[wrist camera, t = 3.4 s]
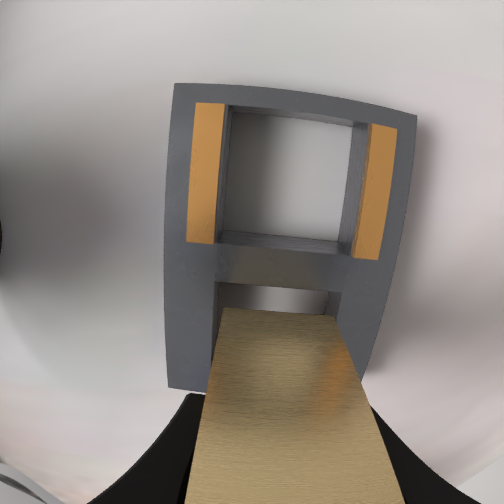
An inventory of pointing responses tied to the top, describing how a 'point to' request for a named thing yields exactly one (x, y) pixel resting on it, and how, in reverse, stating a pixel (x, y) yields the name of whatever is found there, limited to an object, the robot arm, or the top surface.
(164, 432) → the robot arm
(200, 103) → the socket
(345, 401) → the brass peg
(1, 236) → the coffee mug
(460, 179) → the top surface
